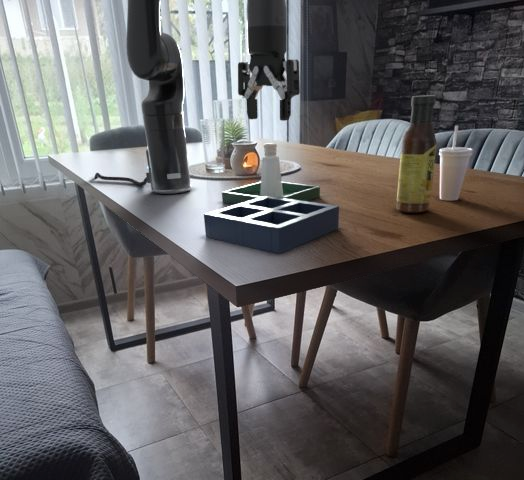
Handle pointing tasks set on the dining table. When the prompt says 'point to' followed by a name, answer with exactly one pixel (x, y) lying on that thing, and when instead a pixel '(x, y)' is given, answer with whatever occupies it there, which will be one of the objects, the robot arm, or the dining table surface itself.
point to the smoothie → (453, 169)
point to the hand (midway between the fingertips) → (268, 119)
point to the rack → (272, 223)
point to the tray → (289, 192)
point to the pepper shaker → (271, 173)
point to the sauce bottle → (417, 158)
